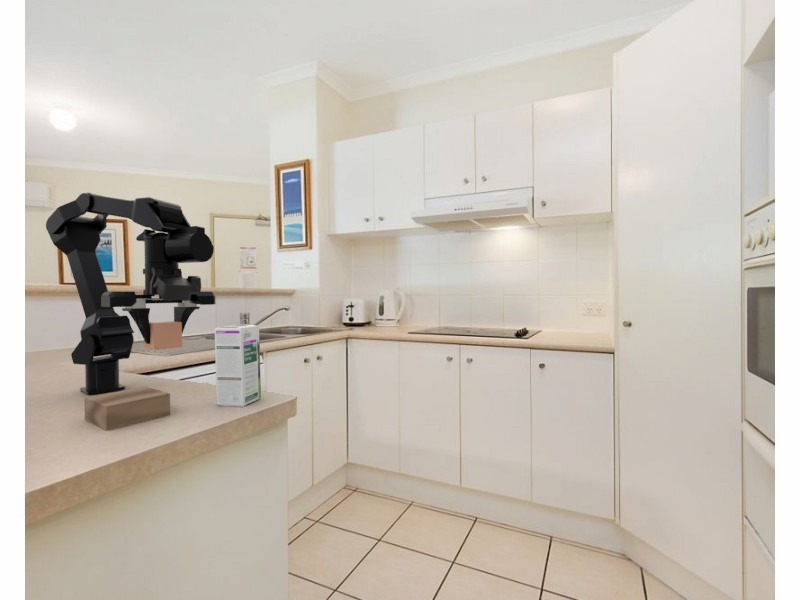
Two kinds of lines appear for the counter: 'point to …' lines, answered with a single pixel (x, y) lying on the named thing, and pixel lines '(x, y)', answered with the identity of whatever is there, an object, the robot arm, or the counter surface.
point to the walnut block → (126, 407)
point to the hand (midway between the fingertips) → (163, 342)
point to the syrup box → (237, 365)
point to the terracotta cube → (164, 335)
